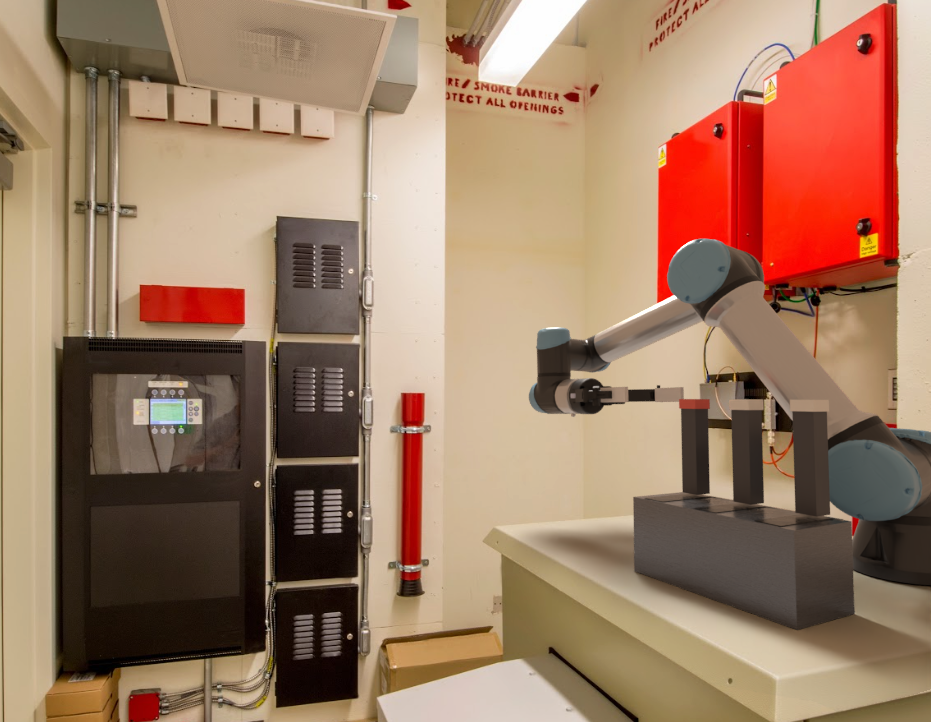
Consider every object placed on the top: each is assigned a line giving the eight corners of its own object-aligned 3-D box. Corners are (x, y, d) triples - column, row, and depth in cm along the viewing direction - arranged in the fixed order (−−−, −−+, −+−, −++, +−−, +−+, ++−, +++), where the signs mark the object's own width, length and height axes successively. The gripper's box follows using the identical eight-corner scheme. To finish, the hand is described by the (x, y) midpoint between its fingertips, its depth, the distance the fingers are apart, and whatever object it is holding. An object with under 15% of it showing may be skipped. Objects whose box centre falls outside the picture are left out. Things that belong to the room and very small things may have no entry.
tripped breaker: (680, 492, 101) (679, 399, 102) (695, 490, 103) (693, 399, 104) (697, 495, 98) (695, 399, 99) (711, 493, 100) (709, 399, 101)
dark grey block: (634, 571, 98) (633, 496, 99) (686, 562, 104) (685, 491, 105) (796, 629, 74) (794, 529, 74) (854, 613, 79) (851, 520, 80)
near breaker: (793, 512, 83) (789, 399, 84) (808, 510, 85) (805, 399, 86) (817, 517, 80) (813, 399, 81) (832, 514, 82) (828, 399, 83)
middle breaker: (731, 501, 92) (729, 399, 93) (746, 499, 94) (743, 399, 95) (751, 505, 89) (748, 399, 90) (766, 503, 91) (763, 399, 92)
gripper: (626, 413, 134) (704, 414, 115) (532, 415, 122) (602, 416, 103) (625, 379, 134) (702, 374, 115) (531, 378, 123) (600, 372, 104)
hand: (655, 394), depth 109 cm, fingers open, 13 cm apart
